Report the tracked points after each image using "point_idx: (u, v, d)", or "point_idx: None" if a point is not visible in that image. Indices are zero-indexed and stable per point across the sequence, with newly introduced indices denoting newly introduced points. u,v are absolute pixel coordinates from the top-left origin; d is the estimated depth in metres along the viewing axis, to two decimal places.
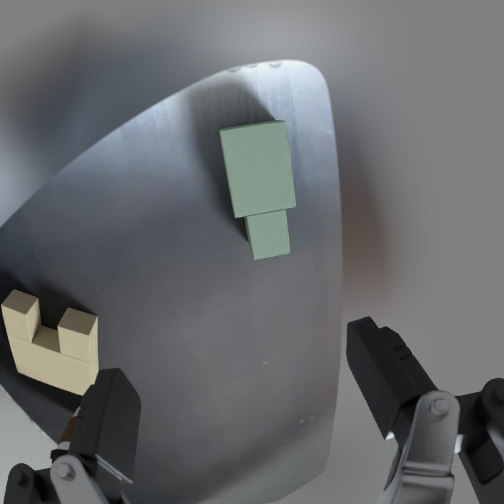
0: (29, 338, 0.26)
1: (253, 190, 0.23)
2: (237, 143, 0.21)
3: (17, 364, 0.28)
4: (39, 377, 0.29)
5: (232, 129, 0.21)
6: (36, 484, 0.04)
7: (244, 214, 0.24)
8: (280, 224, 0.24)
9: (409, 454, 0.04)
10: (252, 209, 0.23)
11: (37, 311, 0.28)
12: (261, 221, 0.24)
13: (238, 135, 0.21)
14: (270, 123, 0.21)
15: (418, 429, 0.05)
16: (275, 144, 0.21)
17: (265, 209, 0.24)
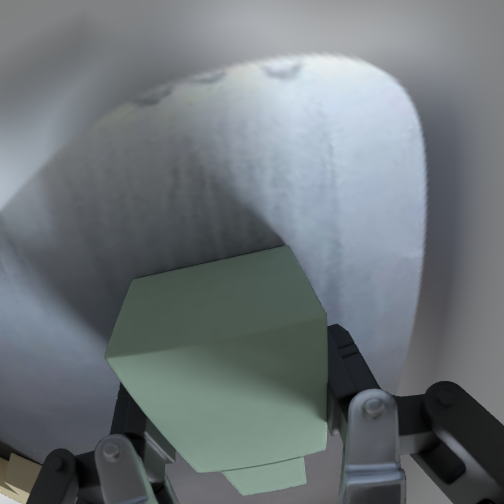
0: None
1: (231, 449, 0.08)
2: (167, 386, 0.06)
3: None
4: (8, 496, 0.15)
5: (141, 353, 0.06)
6: (77, 469, 0.05)
7: (215, 470, 0.09)
8: (291, 470, 0.10)
9: (351, 457, 0.05)
10: (231, 465, 0.09)
11: None
12: (252, 473, 0.09)
13: (165, 370, 0.06)
14: (272, 329, 0.06)
15: (348, 426, 0.06)
16: (287, 378, 0.07)
17: (260, 463, 0.09)
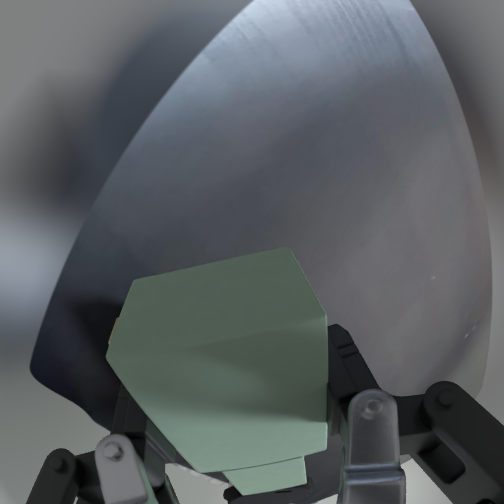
0: None
1: (231, 449, 0.08)
2: (168, 386, 0.06)
3: None
4: None
5: (142, 354, 0.06)
6: (77, 469, 0.05)
7: (216, 470, 0.09)
8: (292, 469, 0.10)
9: (351, 457, 0.05)
10: (232, 465, 0.09)
11: None
12: (252, 473, 0.09)
13: (165, 371, 0.06)
14: (272, 329, 0.06)
15: (348, 426, 0.06)
16: (288, 378, 0.07)
17: (260, 463, 0.09)
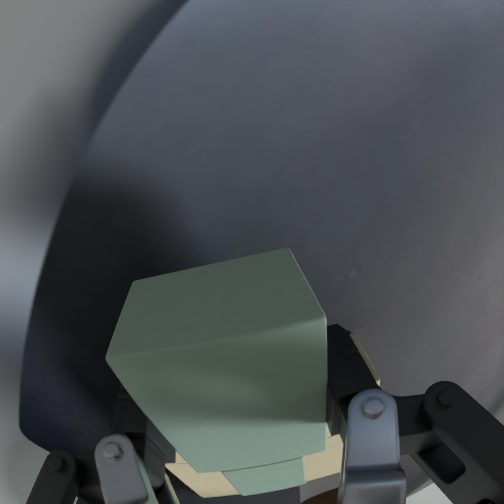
0: None
1: (231, 450, 0.08)
2: (168, 388, 0.06)
3: (199, 491, 0.16)
4: None
5: (142, 356, 0.06)
6: (77, 469, 0.05)
7: (216, 471, 0.09)
8: (291, 470, 0.10)
9: (351, 457, 0.05)
10: (232, 466, 0.09)
11: None
12: (252, 473, 0.09)
13: (165, 372, 0.06)
14: (272, 331, 0.06)
15: (348, 426, 0.06)
16: (287, 379, 0.07)
17: (260, 464, 0.09)
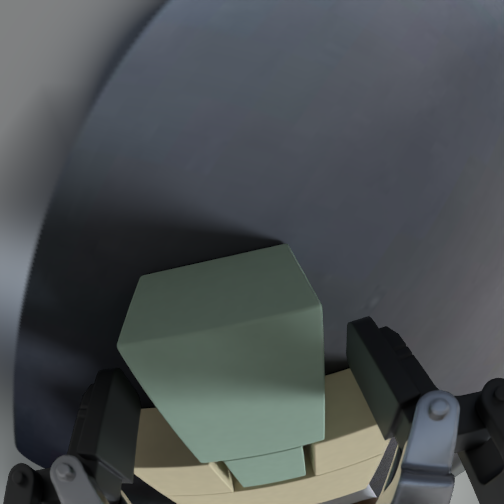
0: (228, 489, 0.11)
1: (233, 438, 0.09)
2: (175, 374, 0.07)
3: None
4: None
5: (151, 342, 0.06)
6: (36, 484, 0.04)
7: (218, 460, 0.09)
8: (291, 460, 0.10)
9: (409, 454, 0.04)
10: (234, 455, 0.09)
11: None
12: (253, 463, 0.10)
13: (173, 358, 0.07)
14: (272, 318, 0.07)
15: (418, 429, 0.05)
16: (286, 366, 0.07)
17: (261, 453, 0.09)
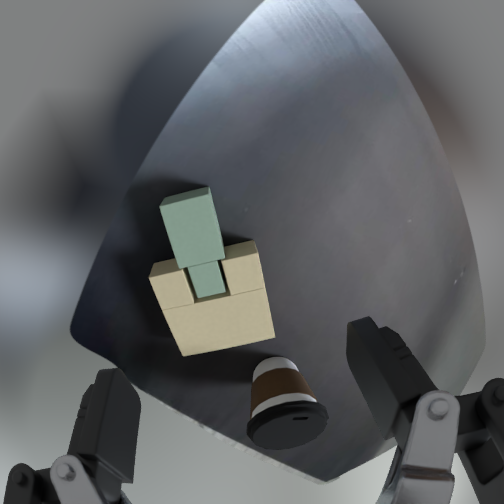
0: (191, 299, 0.32)
1: (190, 248, 0.30)
2: (173, 215, 0.28)
3: (181, 345, 0.35)
4: (210, 345, 0.36)
5: (168, 204, 0.28)
6: (36, 484, 0.04)
7: (185, 266, 0.31)
8: (214, 271, 0.31)
9: (409, 454, 0.04)
10: (191, 262, 0.31)
11: None
12: (199, 270, 0.31)
13: (173, 209, 0.28)
14: (197, 197, 0.28)
15: (418, 429, 0.05)
16: (202, 213, 0.29)
17: (201, 261, 0.31)
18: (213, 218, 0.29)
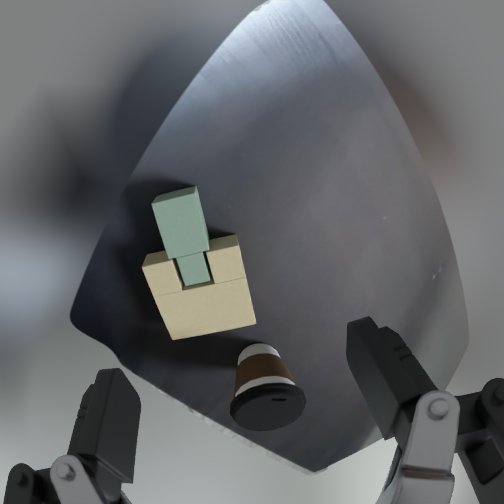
0: (179, 286, 0.36)
1: (178, 241, 0.33)
2: (163, 211, 0.32)
3: (170, 330, 0.39)
4: (197, 330, 0.39)
5: (159, 202, 0.31)
6: (36, 484, 0.04)
7: (174, 256, 0.34)
8: (200, 262, 0.35)
9: (409, 454, 0.04)
10: (179, 253, 0.34)
11: None
12: (186, 261, 0.35)
13: (163, 206, 0.32)
14: (184, 195, 0.31)
15: (418, 429, 0.05)
16: (189, 209, 0.32)
17: (188, 253, 0.34)
18: (198, 214, 0.32)
